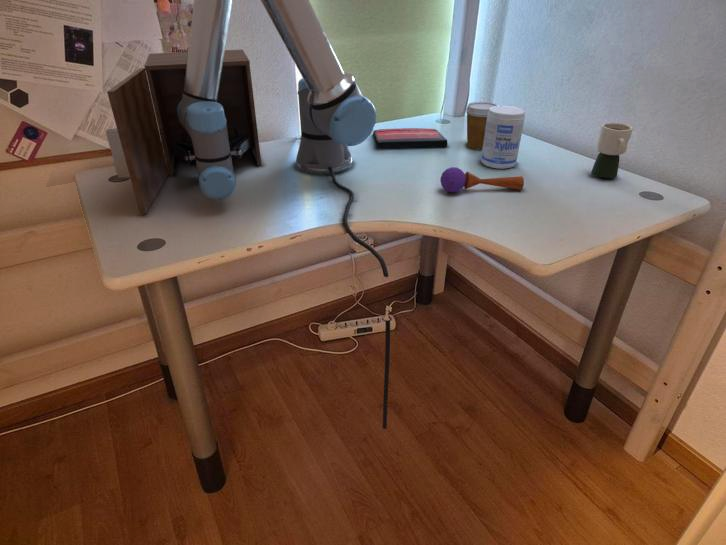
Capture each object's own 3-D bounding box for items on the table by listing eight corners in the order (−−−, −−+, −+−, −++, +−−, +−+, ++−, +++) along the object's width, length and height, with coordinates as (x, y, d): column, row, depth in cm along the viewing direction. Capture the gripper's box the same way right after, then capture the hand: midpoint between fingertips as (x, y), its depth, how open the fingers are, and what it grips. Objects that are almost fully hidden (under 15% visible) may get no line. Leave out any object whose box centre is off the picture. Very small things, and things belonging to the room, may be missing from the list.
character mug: (625, 184, 124) (641, 133, 117) (597, 184, 124) (611, 132, 117) (608, 168, 133) (622, 120, 126) (582, 168, 133) (594, 120, 126)
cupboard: (274, 200, 115) (261, 79, 101) (127, 218, 108) (90, 89, 93) (254, 146, 149) (242, 49, 134) (141, 156, 141) (116, 55, 126)
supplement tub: (493, 172, 131) (502, 116, 123) (473, 160, 138) (480, 107, 130) (523, 167, 134) (533, 112, 126) (502, 156, 141) (510, 103, 133)
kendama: (528, 179, 116) (445, 175, 114) (520, 200, 120) (440, 196, 118) (521, 166, 120) (441, 161, 118) (514, 186, 124) (436, 182, 122)
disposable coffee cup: (495, 143, 151) (501, 103, 145) (491, 152, 144) (497, 111, 137) (464, 140, 154) (468, 100, 147) (459, 149, 146) (463, 108, 140)
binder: (447, 139, 146) (377, 141, 145) (447, 147, 148) (377, 149, 146) (436, 126, 160) (372, 128, 159) (435, 133, 161) (372, 135, 160)
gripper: (162, 182, 116) (165, 154, 133) (268, 171, 122) (257, 145, 140) (155, 152, 112) (158, 126, 129) (265, 141, 118) (254, 118, 135)
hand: (210, 136), depth 134 cm, fingers open, 13 cm apart
